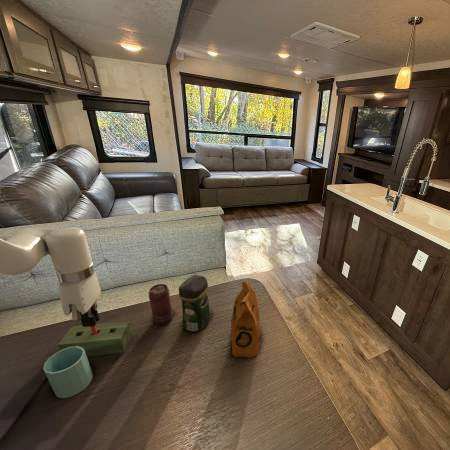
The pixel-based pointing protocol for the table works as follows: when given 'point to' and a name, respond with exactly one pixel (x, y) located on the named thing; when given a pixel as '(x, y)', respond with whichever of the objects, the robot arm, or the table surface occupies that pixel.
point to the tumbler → (68, 371)
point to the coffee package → (245, 323)
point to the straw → (93, 330)
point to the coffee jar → (195, 302)
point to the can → (160, 304)
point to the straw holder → (99, 338)
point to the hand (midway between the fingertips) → (91, 323)
